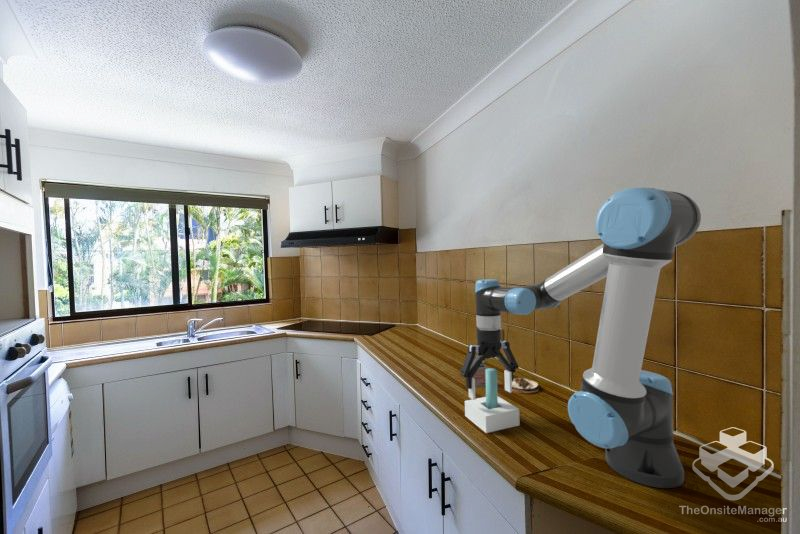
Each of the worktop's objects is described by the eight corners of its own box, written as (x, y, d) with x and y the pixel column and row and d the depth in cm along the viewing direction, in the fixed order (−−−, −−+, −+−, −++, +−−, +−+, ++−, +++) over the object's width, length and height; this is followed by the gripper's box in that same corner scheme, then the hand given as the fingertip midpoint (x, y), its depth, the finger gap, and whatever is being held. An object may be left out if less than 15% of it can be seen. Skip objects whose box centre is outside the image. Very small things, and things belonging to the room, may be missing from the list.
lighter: (487, 383, 137) (486, 359, 137) (488, 386, 134) (487, 361, 134) (467, 383, 138) (466, 359, 138) (468, 386, 134) (467, 361, 134)
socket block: (519, 425, 101) (519, 409, 101) (486, 433, 97) (485, 416, 97) (495, 409, 113) (495, 394, 113) (465, 415, 109) (464, 400, 109)
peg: (500, 421, 104) (499, 371, 104) (490, 423, 103) (489, 372, 103) (493, 416, 107) (492, 367, 107) (483, 418, 106) (483, 369, 106)
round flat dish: (551, 392, 127) (551, 381, 126) (520, 399, 121) (519, 388, 121) (524, 379, 140) (524, 370, 140) (495, 385, 135) (494, 375, 135)
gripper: (513, 322, 112) (515, 384, 113) (447, 329, 104) (450, 396, 104) (528, 326, 105) (530, 392, 106) (459, 334, 97) (462, 406, 97)
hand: (490, 394), depth 105 cm, fingers open, 13 cm apart
